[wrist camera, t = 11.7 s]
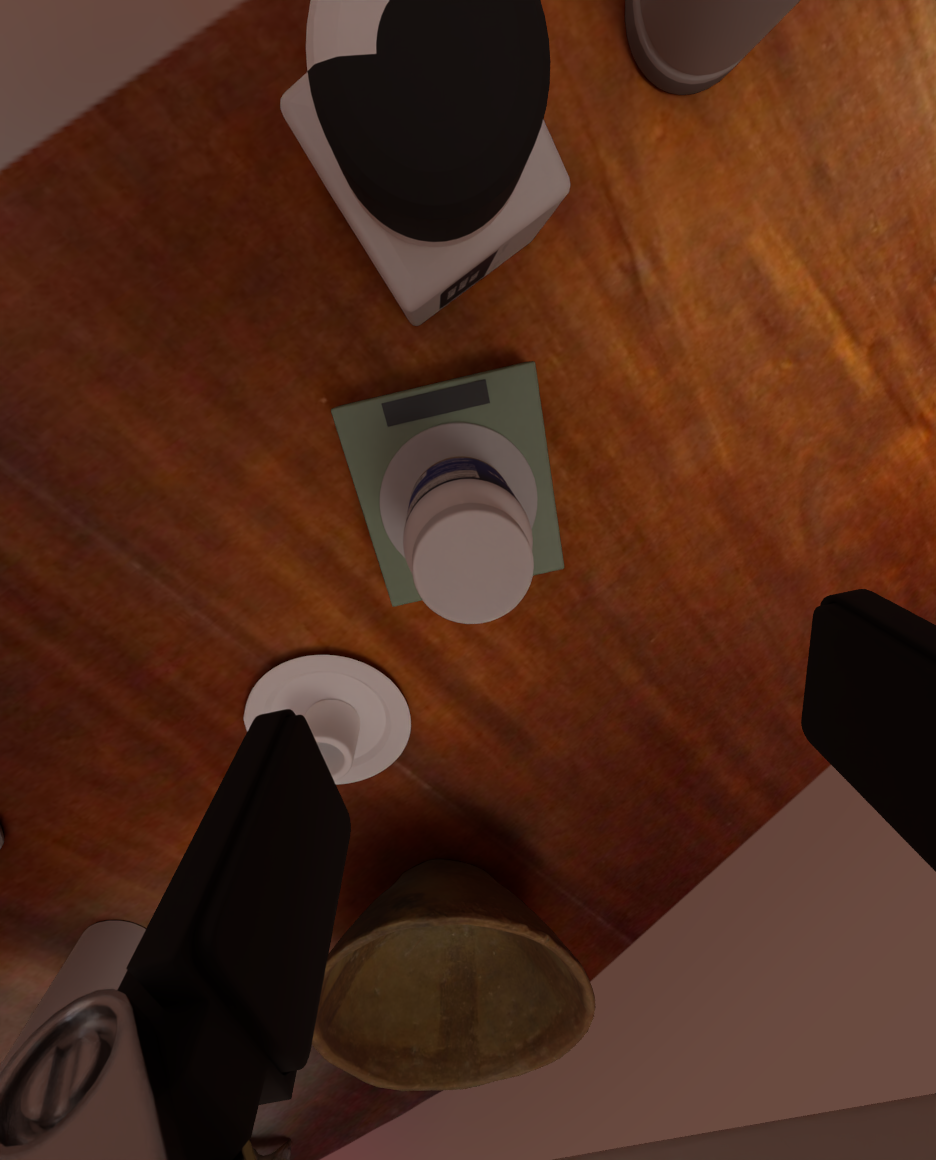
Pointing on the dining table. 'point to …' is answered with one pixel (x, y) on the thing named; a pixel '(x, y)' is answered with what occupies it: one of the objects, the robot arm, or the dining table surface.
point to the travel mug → (696, 38)
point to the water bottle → (1, 837)
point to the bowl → (449, 986)
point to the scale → (441, 430)
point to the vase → (86, 971)
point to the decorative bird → (276, 1153)
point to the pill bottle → (467, 541)
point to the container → (431, 135)
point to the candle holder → (339, 711)
